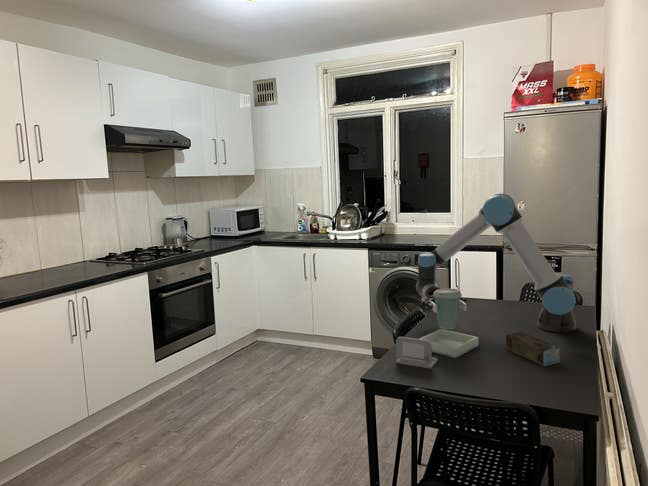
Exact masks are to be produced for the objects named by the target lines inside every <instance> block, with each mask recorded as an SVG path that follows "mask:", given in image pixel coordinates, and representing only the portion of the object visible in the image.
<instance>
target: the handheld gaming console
mask: <svg viewBox="0 0 648 486" xmlns="http://www.w3.org/2000/svg"><path fill="white" fill-rule="evenodd" d="M395 350H396V351H395V358H396V360H395V363H396V364H399V365H400V364H401V365H406V366H413V367H419V368H424V369H430V370H432V368H433V367H434V365H436V363H437V362H438V360H439V359H438V358H437V357H433V355H432V353H433V352H432V345H431V342H430V341H428V340H421V339H420V338H412V337H406V336H405V337H404V336H398V337H397V338H396V340H395Z"/></svg>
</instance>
